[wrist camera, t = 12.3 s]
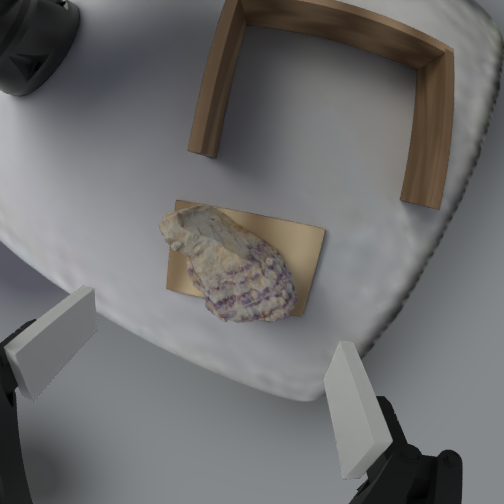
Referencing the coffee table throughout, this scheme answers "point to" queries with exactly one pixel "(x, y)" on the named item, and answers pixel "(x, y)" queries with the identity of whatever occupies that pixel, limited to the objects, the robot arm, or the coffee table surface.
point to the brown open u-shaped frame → (355, 34)
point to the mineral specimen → (230, 265)
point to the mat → (275, 234)
